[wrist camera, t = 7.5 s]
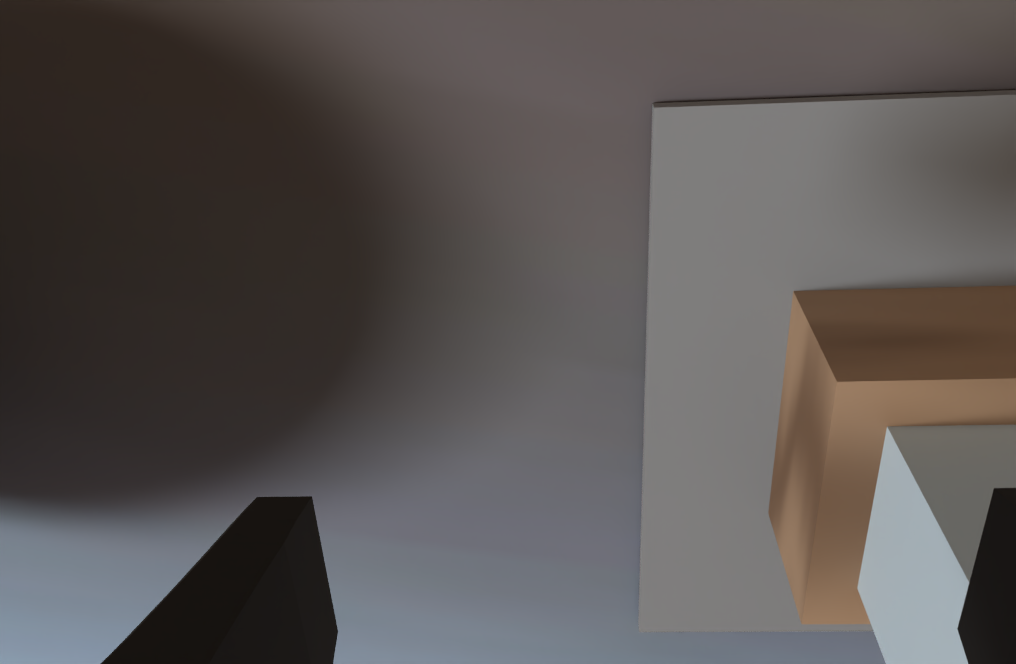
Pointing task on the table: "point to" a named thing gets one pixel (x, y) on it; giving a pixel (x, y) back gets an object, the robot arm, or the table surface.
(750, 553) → the mat
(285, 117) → the table surface
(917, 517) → the pale grey small block
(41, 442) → the table surface
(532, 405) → the table surface
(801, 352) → the walnut block
